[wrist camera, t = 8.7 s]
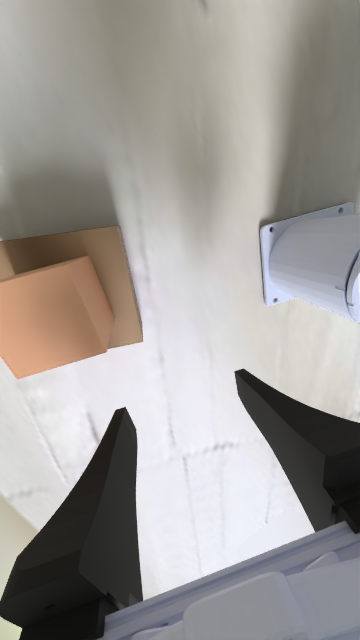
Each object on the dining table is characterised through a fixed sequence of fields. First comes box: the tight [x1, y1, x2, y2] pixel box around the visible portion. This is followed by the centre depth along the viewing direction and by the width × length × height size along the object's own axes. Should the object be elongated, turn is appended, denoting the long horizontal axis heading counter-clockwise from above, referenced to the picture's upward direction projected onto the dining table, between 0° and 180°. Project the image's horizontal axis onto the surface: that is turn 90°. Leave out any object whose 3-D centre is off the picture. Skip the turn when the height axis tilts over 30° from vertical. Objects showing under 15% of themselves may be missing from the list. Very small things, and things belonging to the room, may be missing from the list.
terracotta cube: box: [0, 255, 115, 379], centre depth 13 cm, size 5×5×5 cm
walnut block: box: [0, 226, 143, 349], centre depth 17 cm, size 9×9×4 cm
